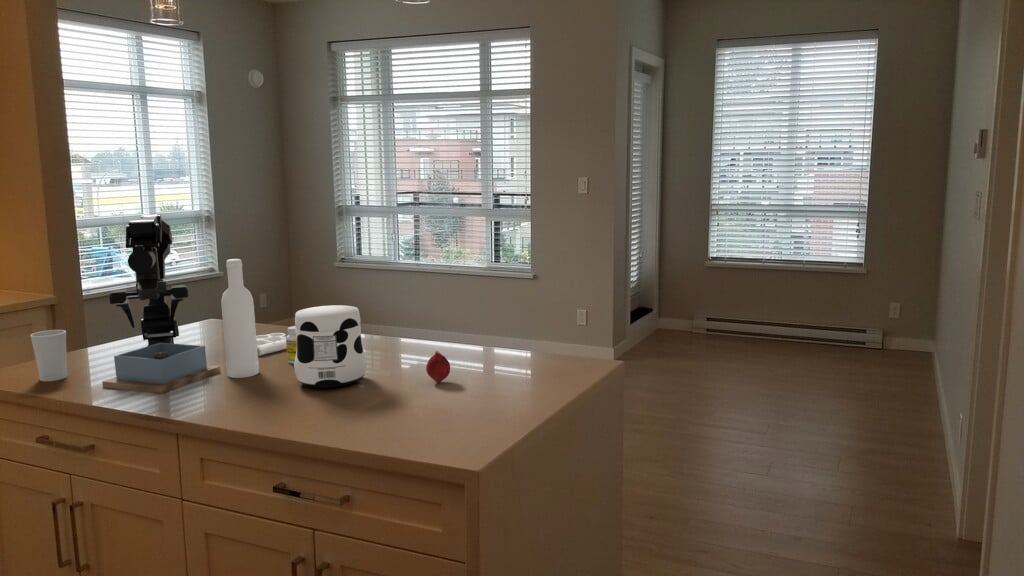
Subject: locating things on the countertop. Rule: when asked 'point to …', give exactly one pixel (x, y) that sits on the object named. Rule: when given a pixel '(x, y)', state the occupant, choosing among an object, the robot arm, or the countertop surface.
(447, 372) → the onion
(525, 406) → the countertop surface
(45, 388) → the countertop surface
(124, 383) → the serving board
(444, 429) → the countertop surface
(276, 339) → the white muffin tray
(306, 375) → the milk container
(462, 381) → the countertop surface
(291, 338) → the supplement bottle
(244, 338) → the bottle
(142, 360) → the blue grey open box
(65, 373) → the cup
